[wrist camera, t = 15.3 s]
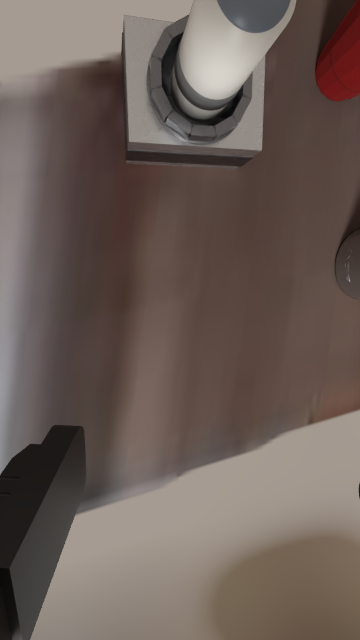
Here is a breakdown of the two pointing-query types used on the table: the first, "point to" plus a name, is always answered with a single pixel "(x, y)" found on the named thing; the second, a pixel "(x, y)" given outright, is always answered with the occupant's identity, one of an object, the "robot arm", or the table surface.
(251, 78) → the banded square pedestal
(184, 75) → the lens barrel
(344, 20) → the plastic cup
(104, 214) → the table surface
